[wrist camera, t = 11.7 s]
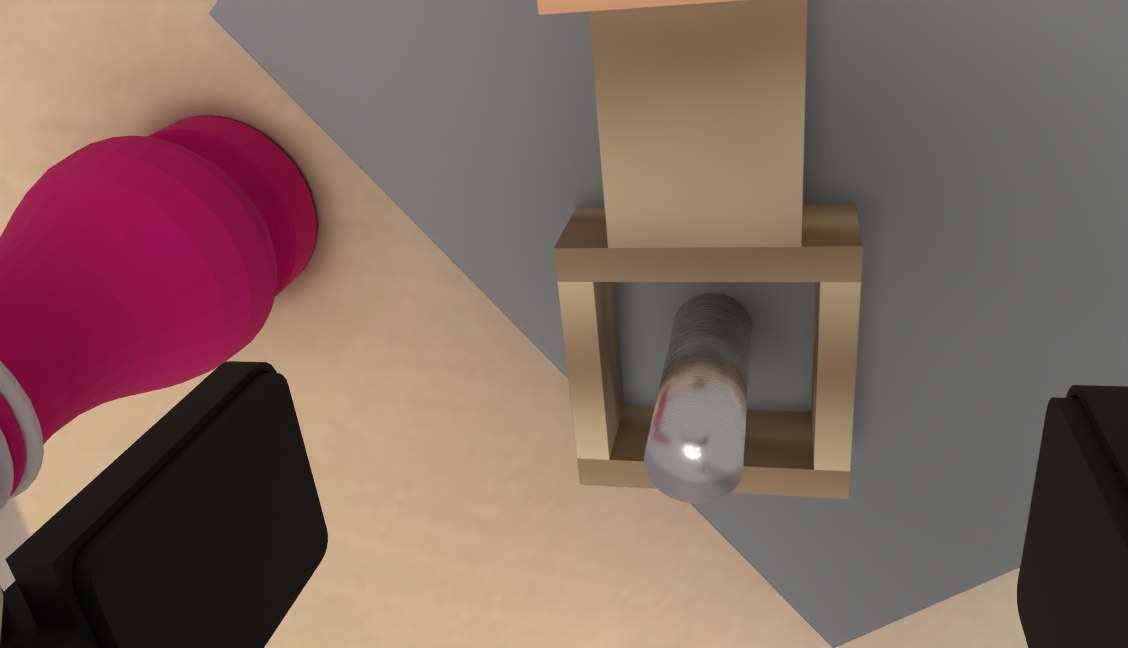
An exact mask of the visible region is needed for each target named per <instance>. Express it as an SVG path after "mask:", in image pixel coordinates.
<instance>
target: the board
mask: <svg viewBox="0 0 1128 648" xmlns="http://www.w3.org/2000/svg"><path fill="white" fill-rule="evenodd" d="M209 14H210V15H211V16H212V17H213V18H214V19H215V20H216V21H217V22H218V23H219V24H220V25H221V26H222V27H223V28H224V29H225V30H226V31H227V32H228V33H229V34H230V35H231V36H232V37H233V38H234V39H235V41H236V42H237V43H238V44H239V45H240V46H241V47H242V48H243V49H244V50H245V51H246V52H247V53H248V54H249V55H250V56H251V57H252V58H253V59H254V60H255V61H256V62H257V63H258V64H259V65H260V66H261V67H262V68H263V69H264V70H265V71H266V72H267V73H268V74H269V75H270V76H271V77H272V78H273V79H274V80H275V81H276V82H277V83H278V84H279V85H280V86H281V87H282V88H283V89H284V90H285V91H286V92H287V93H288V94H289V95H290V96H291V97H292V98H293V99H294V100H295V102H296V103H297V104H298V105H299V106H300V107H301V108H302V109H303V110H304V111H305V112H306V113H307V114H308V115H309V116H310V117H311V118H312V119H313V120H314V121H315V122H316V123H317V124H318V125H319V126H320V127H321V128H322V129H323V130H324V131H325V132H326V133H327V134H328V135H329V136H330V137H331V138H332V139H333V140H334V141H335V142H336V143H337V144H338V145H339V146H340V147H341V148H342V149H343V150H344V151H345V152H346V153H347V154H348V155H349V156H350V157H351V158H352V159H353V160H354V161H355V163H356V164H357V165H358V166H359V167H360V168H361V169H362V170H363V171H364V172H365V173H366V174H367V175H368V176H369V177H370V178H371V179H372V180H373V181H374V182H375V183H376V184H377V185H378V186H379V187H380V188H381V189H382V190H383V191H384V192H385V193H386V194H387V195H388V196H389V197H390V198H391V199H392V200H393V201H394V202H395V203H396V204H397V205H398V206H399V207H400V208H401V209H402V210H403V211H404V212H405V213H406V214H407V215H408V216H409V217H410V218H411V219H412V220H413V221H414V222H415V224H416V225H417V226H418V227H419V228H420V229H421V230H422V231H423V232H424V233H425V234H426V235H427V236H428V237H429V238H430V239H431V240H432V241H433V242H434V243H435V244H436V245H437V246H438V247H439V248H440V249H441V250H442V251H443V252H444V253H445V254H446V255H447V256H448V257H449V258H450V259H451V260H452V261H453V262H454V263H455V264H456V265H457V266H458V267H459V268H460V269H461V270H462V271H463V272H464V273H465V274H466V275H467V276H468V277H469V278H470V279H471V280H472V281H473V282H474V283H475V285H476V286H477V287H478V288H479V289H480V290H481V291H482V292H483V293H484V294H485V295H486V296H487V297H488V298H489V299H490V300H491V301H492V302H493V303H494V304H495V305H496V306H497V307H498V308H499V309H500V310H501V311H502V312H503V313H504V314H505V315H506V316H507V317H508V318H509V319H510V320H511V321H512V322H513V323H514V324H515V325H516V326H517V327H518V328H519V329H520V330H521V331H522V332H523V333H524V334H525V335H526V336H527V337H528V338H529V339H530V340H531V341H532V342H533V343H534V344H535V346H536V347H537V348H538V349H539V350H540V351H541V352H542V353H543V354H544V355H545V356H546V357H547V358H548V359H549V360H550V361H551V362H552V363H553V364H554V365H555V366H556V367H557V368H558V369H559V370H560V371H561V372H562V373H563V374H564V375H565V376H566V377H567V378H568V371H567V362H566V353H565V344H564V336H563V327H562V318H561V309H560V300H559V291H558V282H557V273H556V265H555V256H554V247H555V245H556V243H557V242H558V240H559V238H560V236H561V234H562V232H563V231H564V229H565V227H566V225H567V223H568V221H569V220H570V218H571V216H572V214H573V212H574V210H575V209H576V208H605V204H604V192H603V180H602V167H601V155H600V143H599V131H598V119H597V107H596V95H595V83H594V70H593V58H592V46H591V34H590V22H589V11H586V12H572V13H558V14H544V15H539V13H538V4H537V0H218V2H217V3H216V4H215V6H214V7H213V8H212V10H211V11H210V12H209ZM852 203H855V204H856V210H857V215H858V221H859V226H860V232H861V237H862V242H863V259H862V276H861V293H860V310H859V327H858V344H857V361H856V378H855V395H854V412H853V429H852V446H851V464H850V481H849V498H848V499H838V498H820V497H801V496H783V495H764V494H746V493H729V494H728V495H726V496H725V497H723V498H721V499H719V500H716V501H713V502H708V503H691V504H692V505H693V506H694V507H695V508H696V509H697V510H698V511H699V512H700V513H701V514H702V515H703V516H704V517H705V518H706V519H707V520H708V521H709V522H710V523H711V524H712V525H713V526H714V527H715V529H716V530H717V531H718V532H719V533H720V534H721V535H722V536H723V537H724V538H725V539H726V540H727V541H728V542H729V543H730V544H731V545H732V546H733V547H734V548H735V549H736V550H737V551H738V552H739V553H740V554H741V555H742V556H743V557H744V558H745V559H746V560H747V561H748V562H749V563H750V564H751V565H752V566H753V567H754V568H755V569H756V570H757V571H758V572H759V573H760V574H761V575H762V576H763V577H764V578H765V579H766V580H767V581H768V582H769V583H770V584H771V585H772V586H773V587H774V589H775V590H776V591H777V592H778V593H779V594H780V595H781V596H782V597H783V598H784V599H785V600H786V601H787V602H788V603H789V604H790V605H791V606H792V607H793V608H794V609H795V610H796V611H797V612H798V613H799V614H800V615H801V616H802V617H803V618H804V619H805V620H806V621H807V622H808V623H809V624H810V625H811V626H812V627H813V628H814V629H815V630H816V631H817V632H818V633H819V634H820V635H821V636H822V637H823V638H824V639H825V640H826V641H827V642H828V643H829V644H830V645H831V646H832V647H833V648H835V647H837V646H840V645H842V644H844V643H847V642H849V641H851V640H853V639H856V638H858V637H860V636H863V635H865V634H867V633H869V632H872V631H874V630H876V629H879V628H881V627H883V626H886V625H888V624H890V623H892V622H895V621H897V620H899V619H902V618H904V617H906V616H909V615H911V614H913V613H915V612H918V611H920V610H922V609H925V608H927V607H929V606H931V605H934V604H936V603H938V602H941V601H943V600H945V599H948V598H950V597H952V596H954V595H957V594H959V593H961V592H964V591H966V590H968V589H970V588H973V587H975V586H977V585H980V584H982V583H984V582H987V581H989V580H991V579H993V578H996V577H998V576H1000V575H1003V574H1005V573H1007V572H1009V571H1012V570H1014V569H1016V568H1019V567H1020V566H1021V560H1022V554H1023V547H1024V541H1025V535H1026V529H1027V523H1028V517H1029V511H1030V505H1031V499H1032V493H1033V487H1034V481H1035V475H1036V469H1037V463H1038V457H1039V451H1040V445H1041V439H1042V433H1043V427H1044V421H1045V415H1046V410H1047V405H1048V402H1049V400H1050V399H1051V398H1052V397H1061V398H1066V395H1067V392H1068V390H1069V388H1070V387H1071V386H1072V385H1098V386H1128V0H807V39H806V80H805V121H804V162H803V203H802V204H852ZM614 283H615V295H616V308H617V320H618V333H619V345H620V357H621V370H622V382H623V395H624V406H645V407H655V404H656V400H657V396H658V391H659V387H660V382H661V378H662V373H663V369H664V364H665V360H666V355H667V351H668V346H669V342H670V337H671V333H672V328H673V324H674V319H675V316H676V314H677V312H678V310H679V308H680V307H681V306H682V305H683V304H684V303H685V302H686V301H687V300H689V299H691V298H692V297H695V296H697V295H700V294H705V293H718V294H723V295H726V296H729V297H731V298H733V299H735V300H736V301H738V302H739V303H740V304H741V305H742V306H743V307H744V308H745V309H746V311H747V312H748V314H749V316H750V319H751V323H752V338H751V353H750V369H749V384H748V399H747V410H765V411H795V412H811V406H812V376H813V345H814V315H815V284H816V282H614Z"/></svg>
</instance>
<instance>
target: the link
mask: <svg viewBox="0 0 1128 648" xmlns="http://www.w3.org/2000/svg"><path fill="white" fill-rule="evenodd" d="M589 22H590V34H591V46H592V58H593V70H594V83H595V95H596V107H597V119H598V131H599V143H600V155H601V167H602V180H603V192H604V204H605V208H576V209H575V210H574V212H573V214H572V216H571V218H570V220H569V221H568V223H567V225H566V227H565V229H564V231H563V232H562V234H561V236H560V238H559V240H558V242H557V243H556V245H555V247H554V256H555V265H556V273H557V282H558V291H559V300H560V309H561V318H562V327H563V336H564V344H565V353H566V362H567V371H568V380H569V389H570V398H571V407H572V416H573V424H574V433H575V442H576V451H577V460H578V469H579V478H580V485H598V486H617V487H635V488H654V489H658V488H657V487H656V486H655V485H654V484H653V483H652V481H651V480H650V478H649V477H648V475H647V473H646V470H645V465H644V454H645V449H646V445H647V440H648V436H649V431H650V427H651V422H652V418H653V413H654V409H655V407H645V406H624V395H623V382H622V370H621V357H620V345H619V333H618V320H617V308H616V295H615V283H614V282H816V284H815V315H814V345H813V376H812V406H811V412H795V411H765V410H747V414H746V429H745V445H744V460H743V473H742V477H741V479H740V482H739V483H738V485H737V486H736V488H735V489H734V490H733V491H732V492H731V493H746V494H764V495H783V496H801V497H820V498H838V499H848V498H849V481H850V464H851V446H852V429H853V412H854V395H855V378H856V361H857V344H858V327H859V310H860V293H861V276H862V259H863V242H862V237H861V232H860V226H859V221H858V215H857V210H856V204H855V203H852V204H802V203H803V162H804V121H805V80H806V39H807V0H743V1H729V2H714V3H700V4H686V5H672V6H657V7H643V8H629V9H615V10H601V11H589Z"/></svg>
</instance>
